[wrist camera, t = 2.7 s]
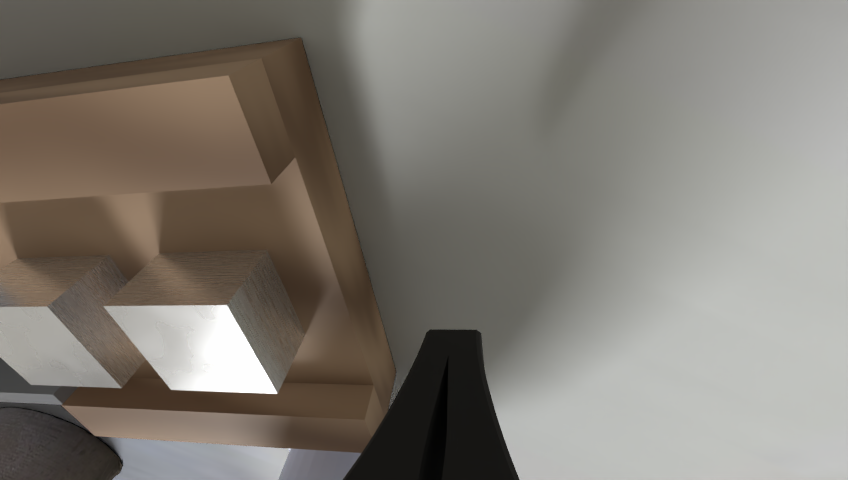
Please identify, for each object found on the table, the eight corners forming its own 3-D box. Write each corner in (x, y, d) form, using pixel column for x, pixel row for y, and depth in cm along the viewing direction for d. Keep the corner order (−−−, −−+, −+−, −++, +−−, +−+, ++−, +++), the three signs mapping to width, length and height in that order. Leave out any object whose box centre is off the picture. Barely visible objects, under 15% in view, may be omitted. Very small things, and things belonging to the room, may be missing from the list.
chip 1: (166, 333, 17) (121, 387, 15) (84, 333, 17) (30, 384, 15) (109, 254, 14) (46, 306, 12) (17, 258, 15) (-56, 307, 13)
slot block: (396, 372, 20) (377, 453, 17) (150, 366, 23) (95, 436, 20) (301, 37, 12) (228, 75, 8) (-74, 90, 14) (-238, 134, 11)
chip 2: (305, 334, 15) (277, 393, 13) (210, 334, 16) (171, 389, 14) (267, 249, 13) (226, 305, 11) (159, 253, 14) (103, 305, 12)
